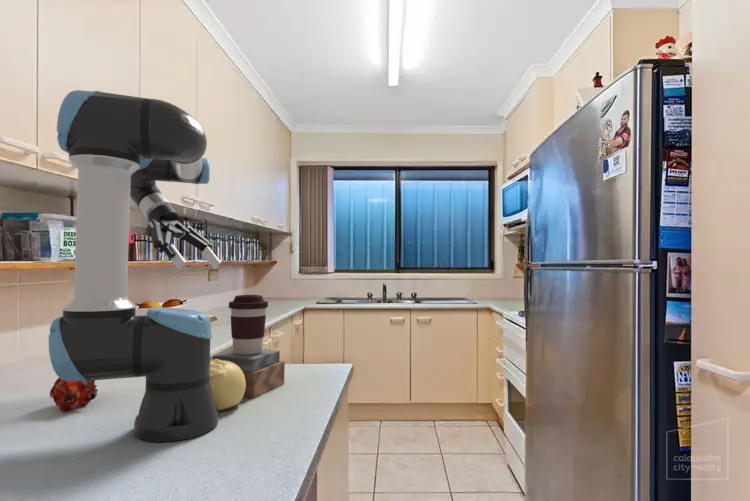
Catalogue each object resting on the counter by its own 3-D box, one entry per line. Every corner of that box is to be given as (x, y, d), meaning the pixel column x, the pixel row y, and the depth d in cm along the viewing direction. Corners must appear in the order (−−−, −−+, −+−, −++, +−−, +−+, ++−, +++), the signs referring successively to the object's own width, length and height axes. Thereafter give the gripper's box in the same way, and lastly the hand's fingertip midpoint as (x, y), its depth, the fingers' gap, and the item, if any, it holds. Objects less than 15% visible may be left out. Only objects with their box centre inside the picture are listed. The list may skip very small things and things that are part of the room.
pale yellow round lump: (181, 405, 100) (183, 358, 100) (233, 396, 108) (234, 351, 108) (198, 420, 91) (200, 367, 92) (253, 408, 99) (254, 360, 99)
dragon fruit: (82, 405, 104) (73, 430, 93) (46, 388, 101) (32, 412, 90) (107, 375, 106) (101, 396, 95) (73, 357, 102) (62, 377, 91)
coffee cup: (243, 358, 108) (245, 297, 109) (219, 353, 114) (221, 295, 115) (274, 352, 116) (276, 295, 117) (251, 347, 122) (252, 293, 123)
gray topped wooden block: (253, 398, 106) (254, 361, 106) (206, 392, 110) (206, 356, 111) (284, 383, 119) (284, 350, 119) (240, 378, 123) (241, 346, 124)
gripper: (184, 225, 139) (222, 274, 133) (113, 217, 115) (156, 276, 110) (198, 208, 137) (237, 256, 132) (129, 196, 114) (173, 255, 108)
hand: (200, 265), depth 121 cm, fingers open, 13 cm apart
